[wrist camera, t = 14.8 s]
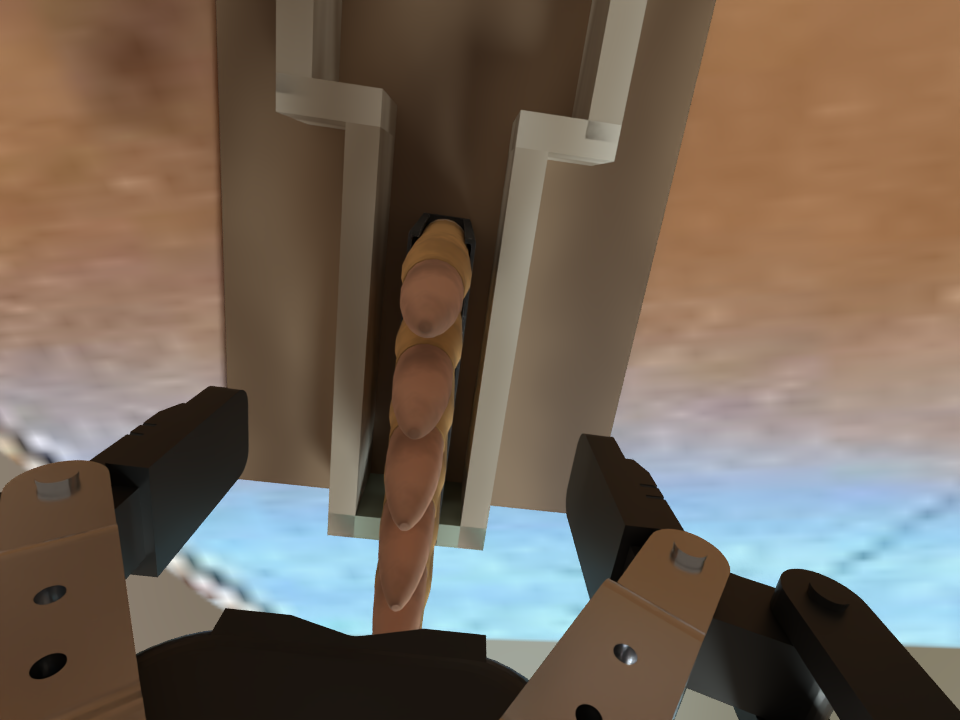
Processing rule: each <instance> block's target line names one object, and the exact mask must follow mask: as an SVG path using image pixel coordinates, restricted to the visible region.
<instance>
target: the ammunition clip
mask: <svg viewBox="0 0 960 720" xmlns="http://www.w3.org/2000/svg"><path fill="white" fill-rule="evenodd" d="M475 247H476V240H475V236H474V232H473V228H472V223H471V221H470V219H466V218H459V217H452V216H445V215H438V214H430V213H423V214H422V216H421V217H420V218H419V220H418V221H417V222H416V223H415V225H414V226H413V227H412V228H411V230H410V231H409V233H408V243H407V255H406V258H405V260H404V263H403V265H402V274H401V280H402V283H403V285H402V287H401V295H400V309H401V323H400V329H399V331H398V334H397V336H396V343H395V354H396V358H397V359H396V366H395V372H394V376H393V387H392V400H391V404H390V413H389V420H390V426H391V429H390V435H389V446H388V451H387V456H386V463H385V471H384V484H385V497H384V503H383V511H382V516H381V520H380V529H379V553H378V565H377V570H376V576H375V594H374V606H373V628H372V630H373V633H372V635H374V634H383V633H391V632H400V631H408V630H416V629H422V621H423V613H424V608H425V605H426V602H427V599H428V596H429V593H430V588H431V581H432V570H433V555H434V546H435V545H436V543H437V536H438V529H439V521H440V513H441V506H442V498H443V490H444V483H445V475H446V468H447V460H448V452H449V445H450V437H451V430H452V422H453V414H454V407H455V399H456V392H457V384H458V376H459V369H460V361H461V354H462V346H463V338H464V331H465V323H466V316H467V308H468V300H469V293H470V285H471V277H472V270H473V262H474V255H475Z"/></svg>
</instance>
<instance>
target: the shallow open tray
mask: <svg viewBox="0 0 960 720" xmlns="http://www.w3.org/2000/svg"><path fill="white" fill-rule="evenodd" d="M715 2H716V0H216V25H217V59H218V93H219V126H220V160H221V194H222V227H223V261H224V295H225V328H226V362H227V388H231V389H239V390H244V391H245V392H246V393H247V396H248V430H249V452H248V459H247V463H246V466H245V469H244V471H243V473H242V475H241V476H240V477H239V479H243V480H253V481H262V482H272V483H281V484H291V485H300V486H310V487H320V488H329V512H328V535H333V536H343V537H354V538H364V539H374V540H379V529H380V520H381V516H382V511H383V503H384V497H385V484H384V471H385V463H386V456H387V451H388V446H389V435H390V429H391V426H390V420H389V413H390V404H391V400H392V387H393V376H394V372H395V366H396V359H397V358H396V354H395V343H396V336H397V334H398V331H399V329H400V323H401V309H400V295H401V287H402V285H403V283H402V280H401V274H402V265H403V263H404V260H405V258H406V255H407V243H408V233H409V231H410V230H411V228H412V227H413V226H414V225H415V223H416V222H417V221H418V220H419V218H420V217H421V216H422V214H423V213H430V214H438V215H445V216H452V217H459V218H466V219H470V221H471V223H472V228H473V232H474V236H475V240H476V247H475V255H474V262H473V270H472V277H471V285H470V293H469V300H468V308H467V316H466V323H465V331H464V338H463V346H462V354H461V361H460V369H459V376H458V384H457V392H456V399H455V407H454V414H453V422H452V430H451V437H450V445H449V452H448V460H447V468H446V475H445V483H444V490H443V498H442V506H441V513H440V521H439V529H438V536H437V543H436V545H435V546H444V547H454V548H464V549H475V550H483V546H484V540H485V534H486V528H487V522H488V516H489V510H490V505H492V506H501V507H511V508H520V509H530V510H539V511H549V512H558V513H566V493H567V487H568V483H569V478H570V474H571V470H572V465H573V461H574V457H575V452H576V448H577V444H578V440H579V438H580V436H581V434H583V433H584V434H592V435H600V436H608V437H610V435H611V431H612V427H613V422H614V418H615V414H616V410H617V406H618V402H619V398H620V394H621V389H622V385H623V381H624V377H625V373H626V369H627V365H628V361H629V356H630V352H631V348H632V344H633V340H634V336H635V332H636V328H637V324H638V319H639V315H640V311H641V307H642V303H643V299H644V295H645V291H646V286H647V282H648V278H649V274H650V270H651V266H652V262H653V258H654V253H655V249H656V245H657V241H658V237H659V233H660V229H661V225H662V221H663V216H664V212H665V208H666V204H667V200H668V196H669V192H670V188H671V183H672V179H673V175H674V171H675V167H676V163H677V159H678V155H679V150H680V146H681V142H682V138H683V134H684V130H685V126H686V122H687V118H688V113H689V109H690V105H691V101H692V97H693V93H694V89H695V85H696V80H697V76H698V72H699V68H700V64H701V60H702V56H703V52H704V47H705V43H706V39H707V35H708V31H709V27H710V23H711V19H712V15H713V10H714V6H715Z"/></svg>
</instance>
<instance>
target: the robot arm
mask: <svg viewBox="0 0 960 720" xmlns="http://www.w3.org/2000/svg"><path fill="white" fill-rule="evenodd" d="M248 452H249V430H248V396H247V393H246V392H245V391H244V390H239V389H231V388H223V387H215V386H209V387H207V388H206V389H204V390H203V391H202V392H200V393H199V394H198V395H196V396H195V397H194V398H192V399H191V400H190V401H188V402H187V403H181V404H178V405H176V406H173V407H170V408H168V409H165V410H162V411H159V412H158V413H157V414H155V415H154V416H152V417H151V418H149V419H148V420H147V421H145V422H144V423H143V425H140V426H138V427H137V428H135V429H134V430H132V431H131V432H130V435H128V434H127V435H125V436H124V437H122V438H121V439H120V440H118V441H117V442H115V443H114V444H113V445H111V446H110V447H108V448H107V449H105V450H104V451H103V452H101V453H100V454H98V455H97V456H95V457H94V458H93V459H91V460H90V461H84V460H73V461H63V462H56V463H51V464H47V465H43V466H40V467H37V468H34V469H31V470H29V471H26V472H24V473H22V474H20V475H18V476H17V477H15V478H14V479H12V480H11V481H10V482H8V483H7V484H6V485H5V487H4V488H3V491H2V492H0V720H675V717H676V714H677V712H678V709H679V707H680V704H681V702H682V699H683V696H684V694H685V691H686V689H687V688H688V689H691V690H693V691H696V692H698V693H701V694H703V695H706V696H708V697H711V698H713V699H716V700H718V701H721V702H723V703H726V704H728V705H731V706H733V707H734V710H735V712H736V714H737V717H738V719H739V720H830V719H829V718H830V716H831V714H832V712H833V710H834V711H835V712H836V714H837V716H838V717H839V719H840V720H960V711H959V709H958V708H957V707H956V706H955V705H954V704H953V703H952V701H951V700H950V699H949V698H948V697H947V696H946V695H945V693H944V692H943V691H942V690H941V689H940V688H939V687H938V685H936V683H935V682H934V681H933V680H932V679H931V677H930V676H929V675H928V674H927V673H926V672H925V671H924V669H923V668H922V667H921V666H920V665H919V664H918V662H917V661H916V660H915V659H914V658H913V657H912V656H911V655H910V653H909V652H908V651H907V650H906V649H905V648H904V646H903V645H902V644H901V643H900V642H899V641H898V640H897V638H896V637H895V636H894V635H893V634H892V633H891V631H890V630H889V629H888V628H887V627H886V626H885V625H884V623H883V622H882V621H881V620H880V619H879V618H878V617H877V615H876V614H875V613H874V612H873V611H872V610H871V609H870V607H869V606H868V605H867V604H866V603H865V602H864V601H863V600H862V599H861V598H860V597H859V596H857V595H856V594H855V593H854V592H852V591H851V590H850V589H848V588H847V587H845V586H843V585H842V584H840V583H838V582H837V581H835V580H833V579H831V578H829V577H826V576H824V575H821V574H819V573H816V572H813V571H809V570H804V569H789V570H786V571H784V572H783V573H782V574H781V576H780V579H779V581H778V583H777V586H776V588H774V587H771V586H768V585H765V584H762V583H758V582H755V581H752V580H749V579H746V578H743V577H740V576H738V575H735V574H732V573H730V566H729V563H728V561H727V560H726V558H725V557H724V555H723V554H722V553H721V552H720V551H719V550H718V549H717V548H716V547H714V546H713V545H712V544H710V543H709V542H707V541H706V540H704V539H702V538H700V537H698V536H696V535H694V534H691V533H688V532H685V531H684V530H683V528H682V526H681V525H680V523H679V521H678V520H677V518H676V516H675V515H674V513H673V511H672V510H671V508H670V506H669V505H668V503H667V502H666V500H664V497H663V495H662V493H661V492H660V490H659V488H657V485H656V483H655V482H654V480H653V478H652V477H651V475H650V474H649V472H648V471H647V470H645V469H644V468H643V467H642V466H640V465H639V464H638V463H637V462H636V461H634V460H632V459H625V457H624V455H623V453H622V452H621V450H620V448H619V446H618V444H617V442H616V441H615V439H614V438H613V437H608V436H600V435H592V434H584V433H583V434H581V436H580V438H579V440H578V444H577V448H576V452H575V457H574V461H573V465H572V470H571V474H570V478H569V483H568V487H567V493H566V514H567V518H568V522H569V525H570V529H571V533H572V536H573V540H574V544H575V547H576V551H577V554H578V558H579V562H580V565H581V569H582V572H583V576H584V580H585V583H586V587H587V591H588V594H589V598H590V601H589V602H588V603H587V605H586V606H585V607H584V609H583V610H582V611H581V613H580V614H579V615H578V617H577V618H576V619H575V620H574V622H573V623H572V624H571V626H570V627H569V628H568V630H567V631H566V632H565V634H564V635H563V636H562V638H561V639H560V640H559V642H558V643H557V644H556V646H555V647H554V648H553V650H552V651H551V652H550V654H549V655H548V656H547V658H546V659H545V660H544V661H543V663H542V664H541V665H540V667H539V668H538V669H537V671H536V672H535V673H534V675H533V676H532V677H531V679H530V680H528V679H527V678H525V677H524V676H522V675H521V674H519V673H517V672H516V671H514V670H513V669H511V668H510V667H508V666H505V665H503V664H501V663H499V662H497V661H495V660H492V659H489V658H487V657H486V635H479V634H470V633H460V632H450V631H441V630H431V629H416V630H408V631H400V632H391V633H383V634H374V635H366V636H350V635H346V634H344V633H341V632H338V631H335V630H332V629H329V628H326V627H324V626H321V625H318V624H315V623H312V622H309V621H306V620H304V619H301V618H298V617H295V616H292V615H286V614H276V613H266V612H257V611H247V610H237V609H227V608H225V610H224V612H223V614H222V615H221V617H220V619H219V620H218V622H217V624H216V625H215V627H214V629H213V630H211V631H203V632H198V633H194V634H189V635H185V636H181V637H178V638H175V639H171V640H168V641H165V642H163V643H160V644H158V645H155V646H152V647H150V648H148V649H146V650H144V651H141V652H139V653H137V654H136V652H135V645H134V638H133V631H132V624H131V618H130V610H129V602H128V595H127V589H126V581H125V580H126V579H127V577H128V576H129V575H130V574H132V575H142V576H152V577H158V576H159V575H160V574H161V573H162V571H163V570H164V569H165V568H166V566H167V565H168V564H169V563H170V562H171V560H172V559H173V558H174V557H175V555H176V554H177V553H178V552H179V551H180V549H181V548H182V547H183V546H184V544H185V543H186V542H187V541H188V540H189V538H190V537H191V536H192V535H193V533H194V532H195V531H196V530H197V529H198V527H199V526H200V525H201V524H202V523H203V521H204V520H205V519H206V518H207V516H208V515H209V514H210V513H211V512H212V510H213V509H214V508H215V507H216V505H217V504H218V503H219V502H220V501H221V499H222V498H223V497H224V496H225V494H226V493H227V492H228V491H229V490H230V488H231V487H232V486H233V485H234V484H235V482H236V481H237V480H238V479H239V477H240V476H241V475H242V473H243V471H244V469H245V466H246V463H247V459H248Z"/></svg>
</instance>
